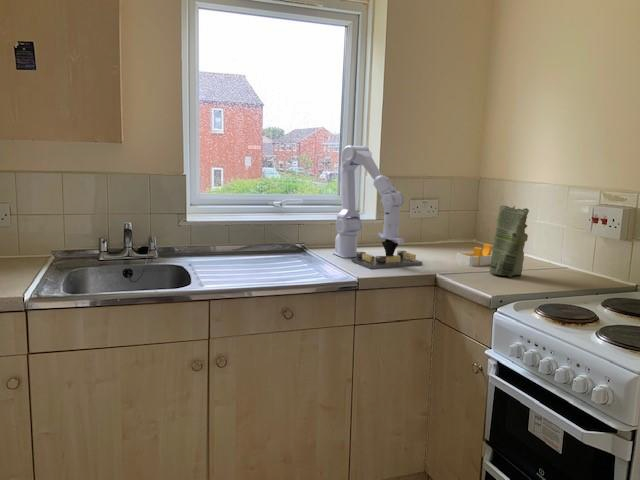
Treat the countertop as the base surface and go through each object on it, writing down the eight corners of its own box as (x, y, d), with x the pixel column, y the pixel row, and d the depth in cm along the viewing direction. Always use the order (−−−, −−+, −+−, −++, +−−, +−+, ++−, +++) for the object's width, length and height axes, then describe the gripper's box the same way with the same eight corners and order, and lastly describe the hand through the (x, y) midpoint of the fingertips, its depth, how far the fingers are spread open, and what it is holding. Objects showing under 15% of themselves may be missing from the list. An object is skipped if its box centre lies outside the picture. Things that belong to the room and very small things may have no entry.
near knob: (379, 263, 209) (379, 257, 209) (374, 261, 213) (374, 256, 212) (401, 262, 214) (402, 256, 213) (396, 260, 217) (396, 254, 217)
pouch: (491, 270, 211) (496, 203, 207) (525, 274, 207) (531, 205, 203) (487, 276, 201) (493, 205, 197) (523, 280, 197) (530, 207, 193)
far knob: (395, 256, 225) (395, 250, 225) (403, 255, 227) (403, 250, 226) (409, 261, 216) (410, 255, 216) (417, 260, 218) (417, 254, 218)
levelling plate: (351, 261, 220) (351, 255, 219) (401, 258, 230) (401, 252, 229) (370, 268, 207) (370, 263, 207) (422, 264, 217) (422, 259, 217)
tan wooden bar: (354, 257, 220) (354, 252, 219) (362, 257, 221) (362, 251, 221) (367, 262, 211) (367, 256, 211) (376, 261, 213) (376, 256, 212)
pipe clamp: (480, 259, 231) (481, 243, 230) (490, 260, 229) (491, 244, 227) (468, 263, 222) (469, 247, 221) (479, 265, 219) (480, 248, 218)
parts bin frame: (455, 261, 225) (456, 253, 225) (488, 259, 233) (488, 250, 232) (470, 266, 218) (471, 257, 217) (503, 263, 225) (504, 254, 224)
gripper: (372, 222, 217) (370, 257, 219) (393, 227, 204) (391, 264, 207) (387, 221, 220) (385, 256, 223) (409, 226, 208) (407, 263, 210)
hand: (389, 260), depth 215 cm, fingers closed, pressing on near knob
